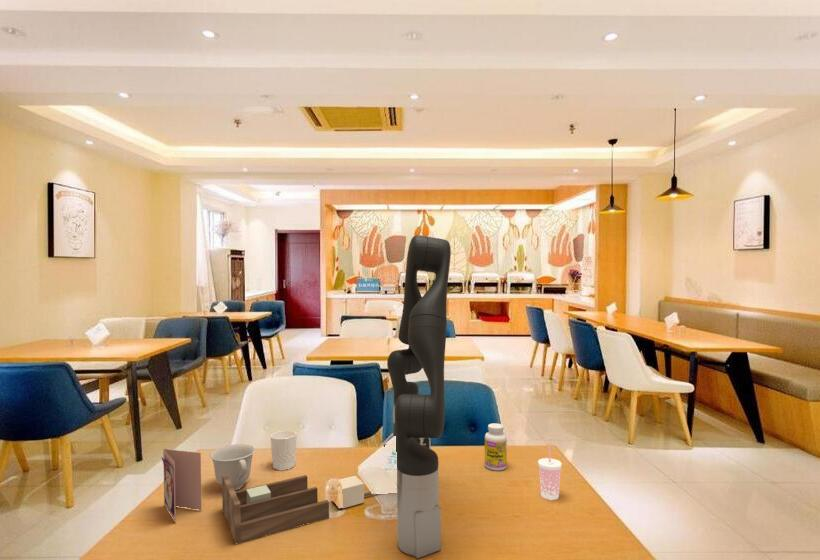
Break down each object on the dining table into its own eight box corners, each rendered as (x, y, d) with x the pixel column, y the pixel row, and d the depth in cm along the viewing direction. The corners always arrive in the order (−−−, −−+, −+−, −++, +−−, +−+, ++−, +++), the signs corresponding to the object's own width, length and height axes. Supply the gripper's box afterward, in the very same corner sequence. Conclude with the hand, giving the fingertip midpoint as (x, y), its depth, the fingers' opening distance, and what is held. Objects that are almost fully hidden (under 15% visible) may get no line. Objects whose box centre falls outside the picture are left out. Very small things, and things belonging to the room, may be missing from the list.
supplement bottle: (483, 470, 143) (483, 428, 143) (486, 461, 150) (486, 421, 149) (505, 472, 141) (505, 430, 141) (507, 463, 148) (507, 423, 147)
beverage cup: (561, 502, 122) (561, 449, 122) (537, 499, 124) (537, 446, 124) (562, 492, 128) (561, 441, 128) (538, 489, 130) (538, 438, 130)
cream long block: (416, 488, 131) (415, 470, 131) (339, 509, 119) (339, 490, 119) (405, 480, 136) (405, 463, 136) (330, 500, 124) (330, 481, 124)
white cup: (270, 463, 150) (270, 431, 150) (296, 459, 152) (295, 429, 152) (271, 473, 142) (270, 440, 142) (297, 469, 145) (297, 437, 145)
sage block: (271, 512, 119) (270, 492, 119) (250, 517, 117) (250, 497, 117) (266, 503, 124) (266, 484, 124) (246, 508, 121) (246, 489, 121)
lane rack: (329, 517, 116) (328, 481, 116) (235, 544, 105) (234, 504, 105) (306, 489, 131) (305, 457, 131) (222, 509, 120) (221, 475, 120)
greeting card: (160, 507, 122) (159, 449, 122) (191, 498, 127) (190, 442, 127) (171, 524, 113) (170, 463, 113) (204, 514, 118) (203, 455, 118)
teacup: (221, 505, 123) (221, 467, 123) (204, 485, 134) (204, 450, 134) (266, 491, 130) (265, 455, 130) (246, 473, 142) (246, 440, 142)
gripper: (390, 428, 126) (390, 489, 126) (435, 419, 133) (435, 477, 133) (377, 420, 132) (378, 478, 132) (421, 412, 139) (421, 467, 140)
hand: (407, 477), depth 133 cm, fingers open, 7 cm apart
